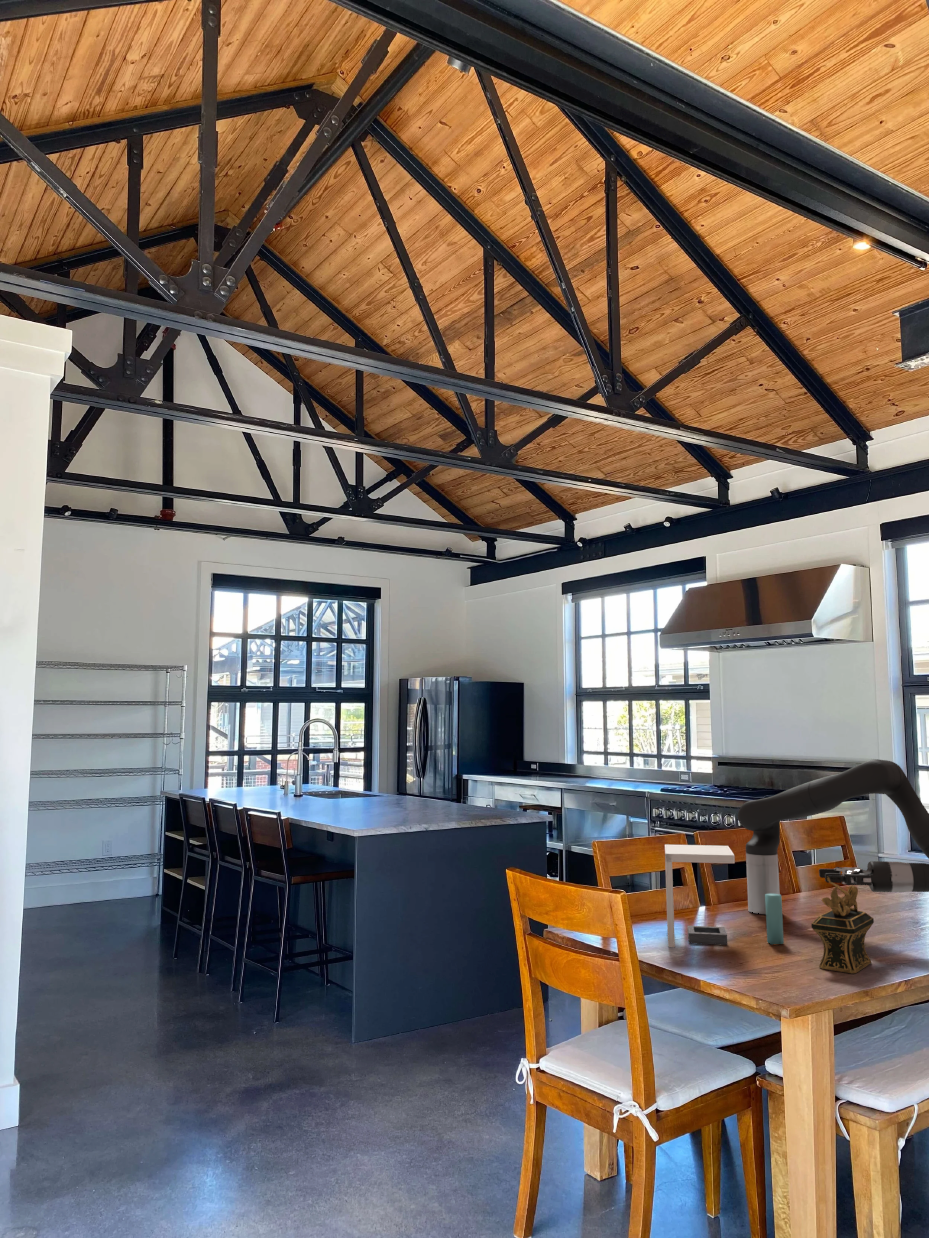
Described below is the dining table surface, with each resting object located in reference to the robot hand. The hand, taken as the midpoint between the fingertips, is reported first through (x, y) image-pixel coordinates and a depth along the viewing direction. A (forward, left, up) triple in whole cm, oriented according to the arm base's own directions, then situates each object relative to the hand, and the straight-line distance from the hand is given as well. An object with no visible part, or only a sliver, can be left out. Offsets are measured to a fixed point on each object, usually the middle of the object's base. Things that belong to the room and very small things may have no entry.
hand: (822, 875), depth 226 cm
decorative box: (+22, 0, -17) cm, 28 cm away
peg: (0, -12, -17) cm, 21 cm away
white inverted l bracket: (0, -31, -17) cm, 35 cm away
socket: (0, -29, -17) cm, 34 cm away
